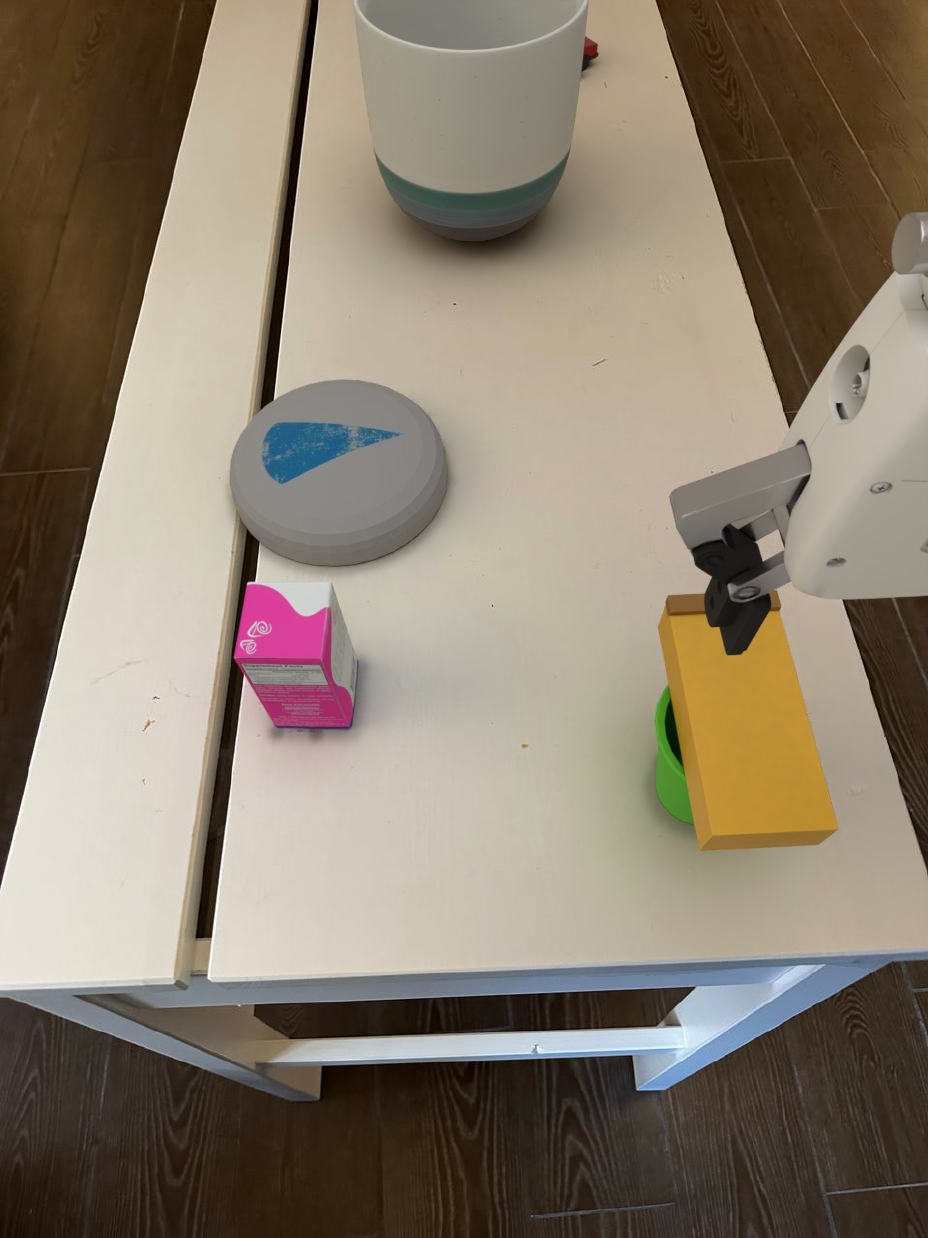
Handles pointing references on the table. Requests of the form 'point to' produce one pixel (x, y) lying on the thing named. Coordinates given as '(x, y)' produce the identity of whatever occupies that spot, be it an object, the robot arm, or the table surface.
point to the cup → (670, 763)
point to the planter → (471, 106)
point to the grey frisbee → (338, 472)
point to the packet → (743, 734)
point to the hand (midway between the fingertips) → (842, 616)
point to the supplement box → (298, 654)
